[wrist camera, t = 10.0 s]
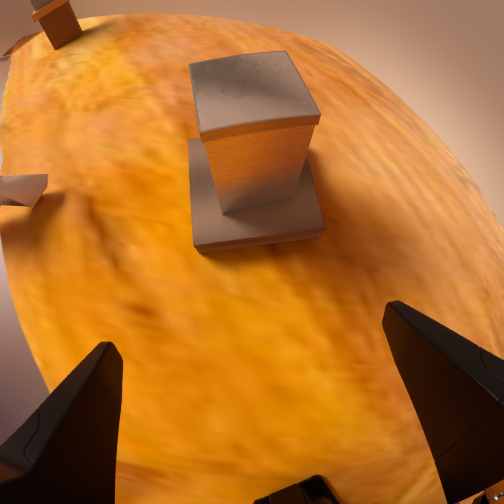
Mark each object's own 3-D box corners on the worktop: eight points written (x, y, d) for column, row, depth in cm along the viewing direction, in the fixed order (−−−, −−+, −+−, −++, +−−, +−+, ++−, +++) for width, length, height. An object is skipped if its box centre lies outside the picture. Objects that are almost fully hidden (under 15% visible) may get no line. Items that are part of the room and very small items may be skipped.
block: (316, 240, 24) (324, 227, 21) (200, 255, 24) (193, 245, 21) (294, 146, 27) (298, 127, 24) (194, 158, 26) (188, 140, 23)
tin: (294, 200, 22) (321, 114, 12) (221, 215, 21) (199, 132, 12) (275, 142, 23) (285, 50, 13) (209, 155, 23) (188, 64, 13)
